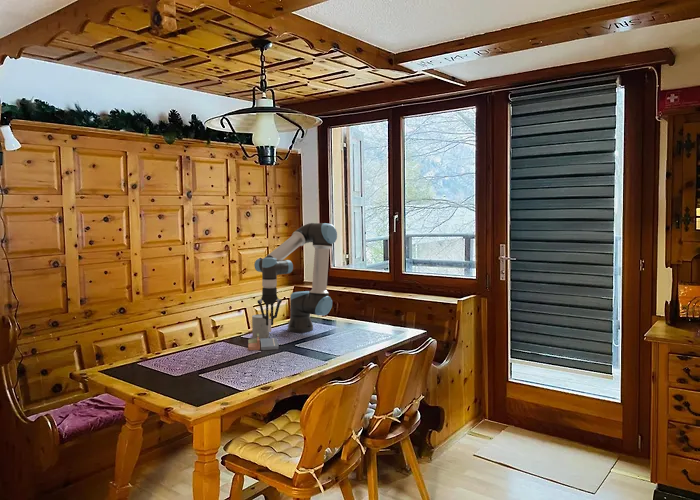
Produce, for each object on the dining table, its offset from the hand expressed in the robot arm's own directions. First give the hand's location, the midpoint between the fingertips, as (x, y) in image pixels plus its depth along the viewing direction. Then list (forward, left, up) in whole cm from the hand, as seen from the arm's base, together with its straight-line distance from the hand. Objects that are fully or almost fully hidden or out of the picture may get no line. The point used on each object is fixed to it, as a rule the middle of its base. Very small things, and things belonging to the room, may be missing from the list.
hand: (269, 331), depth 285 cm
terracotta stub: (+8, 0, -9) cm, 12 cm away
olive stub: (+8, -9, -9) cm, 15 cm away
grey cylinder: (+4, -24, -9) cm, 26 cm away
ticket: (0, -5, -9) cm, 10 cm away
